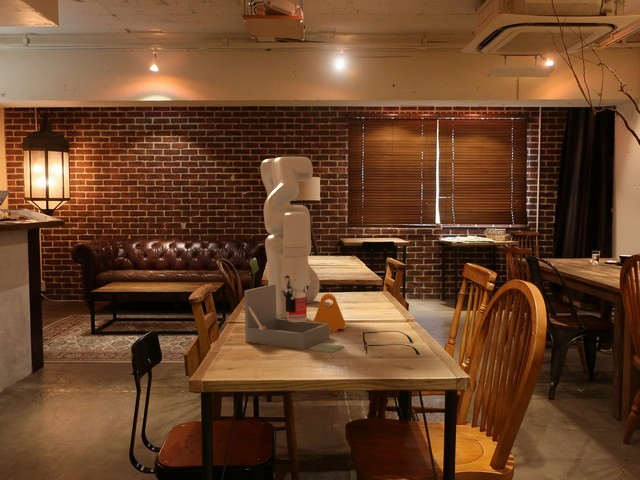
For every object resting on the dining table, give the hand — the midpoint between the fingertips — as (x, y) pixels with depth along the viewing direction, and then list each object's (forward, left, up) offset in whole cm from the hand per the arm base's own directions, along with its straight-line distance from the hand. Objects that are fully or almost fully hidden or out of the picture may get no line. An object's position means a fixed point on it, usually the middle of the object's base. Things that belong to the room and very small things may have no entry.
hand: (296, 308), depth 167 cm
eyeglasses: (+30, +3, -11) cm, 32 cm away
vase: (-32, +60, -10) cm, 69 cm away
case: (-2, -1, -10) cm, 10 cm away
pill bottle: (0, 0, -4) cm, 4 cm away
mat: (+13, -5, -10) cm, 17 cm away
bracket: (+2, +18, -10) cm, 21 cm away
